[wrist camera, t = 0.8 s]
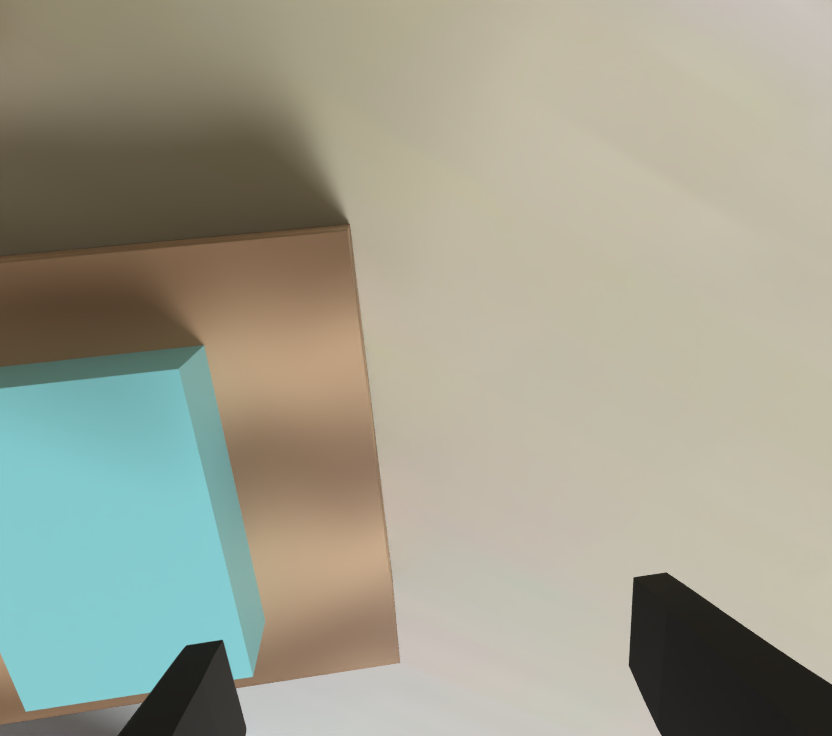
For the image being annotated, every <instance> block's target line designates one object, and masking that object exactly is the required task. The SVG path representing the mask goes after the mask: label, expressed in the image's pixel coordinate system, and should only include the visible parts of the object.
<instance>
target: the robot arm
mask: <svg viewBox="0 0 832 736" xmlns="http://www.w3.org/2000/svg"><path fill="white" fill-rule="evenodd" d="M629 667H630V669H631V671H632V674H633V676H634V678H635V681H636V683H637V685H638V687H639V690H640V692H641V694H642V696H643V699H644V701H645V703H646V705H647V707H648V709H649V711H650V713H651V716H652V718H653V720H654V722H655V724H656V726H657V728H658V730H659V732H660V734H661V735H662V736H832V684H830V683H828V682H827V681H825V680H824V679H822V678H821V677H819V676H818V675H816V674H815V673H813V672H811V671H810V670H808V669H807V668H805V667H804V666H802V665H801V664H799V663H798V662H796V661H795V660H793V659H792V658H790V657H789V656H787V655H786V654H784V653H783V652H781V651H780V650H778V649H777V648H775V647H774V646H772V645H771V644H769V643H768V642H766V641H765V640H763V639H762V638H761V637H759V636H758V635H756V634H755V633H753V632H752V631H750V630H749V629H747V628H746V627H745V626H743V625H742V624H740V623H739V622H737V621H736V620H734V619H733V618H732V617H730V616H729V615H727V614H726V613H724V612H723V611H722V610H720V609H719V608H717V607H716V606H714V605H713V604H712V603H710V602H709V601H707V600H706V599H704V598H703V597H702V596H700V595H699V594H697V593H696V592H694V591H693V590H692V589H690V588H689V587H687V586H686V585H684V584H683V583H681V582H680V581H678V580H677V579H675V578H674V577H672V576H671V575H669V574H668V573H660V574H653V575H647V576H640V577H634V580H633V598H632V617H631V636H630V654H629ZM245 735H246V725H245V721H244V718H243V714H242V710H241V706H240V702H239V699H238V695H237V691H236V687H235V683H234V680H233V676H232V672H231V668H230V664H229V661H228V657H227V653H226V649H225V645H224V642H223V640H217V641H211V642H204V643H198V644H191V645H186V646H185V647H184V648H183V650H182V651H181V652H180V653H179V655H178V656H177V657H176V659H175V660H174V661H173V663H172V664H171V665H170V667H169V668H168V669H167V671H166V672H165V673H164V675H163V676H162V677H161V679H160V680H159V681H158V683H157V684H156V685H155V687H154V688H153V689H152V691H151V692H150V693H149V695H148V696H147V697H146V699H145V700H144V701H143V703H142V704H141V705H140V707H139V708H138V709H137V711H136V712H135V713H134V715H133V716H132V717H131V719H130V720H129V721H128V723H127V724H126V725H125V727H124V728H123V729H122V731H121V732H120V733H119V735H118V736H245Z"/></svg>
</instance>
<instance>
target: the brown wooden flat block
mask: <svg viewBox="0 0 832 736" xmlns="http://www.w3.org/2000/svg"><path fill="white" fill-rule="evenodd" d="M200 345H204V347H205V351H206V356H207V360H208V365H209V369H210V374H211V378H212V383H213V387H214V392H215V396H216V401H217V405H218V410H219V414H220V419H221V423H222V428H223V432H224V437H225V441H226V446H227V450H228V455H229V459H230V464H231V468H232V473H233V477H234V482H235V486H236V491H237V495H238V500H239V505H240V509H241V514H242V518H243V523H244V527H245V532H246V536H247V541H248V545H249V550H250V554H251V559H252V563H253V568H254V572H255V577H256V581H257V586H258V590H259V595H260V599H261V604H262V608H263V613H264V617H265V625H264V630H263V634H262V639H261V643H260V648H259V652H258V657H257V661H256V666H255V670H254V675H253V677H248V678H242V679H235V680H234V683H235V687H236V688H241V687H247V686H253V685H260V684H266V683H273V682H279V681H286V680H292V679H299V678H305V677H312V676H318V675H325V674H331V673H337V672H344V671H350V670H357V669H363V668H370V667H376V666H383V665H389V664H396V663H400V658H399V647H398V636H397V624H396V613H395V602H394V591H393V580H392V571H391V563H390V555H389V546H388V538H387V530H386V521H385V513H384V505H383V496H382V488H381V480H380V472H379V463H378V455H377V447H376V438H375V430H374V422H373V413H372V405H371V397H370V388H369V380H368V372H367V363H366V355H365V347H364V338H363V330H362V322H361V314H360V305H359V297H358V289H357V280H356V272H355V264H354V255H353V247H352V239H351V230H350V224H345V225H334V226H323V227H312V228H301V229H291V230H280V231H269V232H258V233H247V234H236V235H225V236H215V237H204V238H193V239H182V240H171V241H160V242H149V243H138V244H128V245H117V246H106V247H95V248H84V249H73V250H62V251H52V252H41V253H30V254H19V255H8V256H0V367H4V366H13V365H23V364H32V363H41V362H51V361H60V360H70V359H79V358H88V357H98V356H107V355H116V354H126V353H135V352H144V351H154V350H163V349H172V348H182V347H191V346H200ZM148 695H149V693H144V694H138V695H131V696H125V697H118V698H112V699H105V700H99V701H92V702H86V703H79V704H73V705H66V706H60V707H53V708H47V709H40V710H34V711H27V712H26V711H25V709H24V706H23V704H22V702H21V699H20V697H19V695H18V693H17V690H16V688H15V686H14V683H13V681H12V679H11V677H10V674H9V672H8V670H7V667H6V665H5V663H4V660H3V658H2V656H1V654H0V725H2V724H8V723H15V722H21V721H28V720H34V719H40V718H47V717H53V716H60V715H66V714H73V713H79V712H86V711H92V710H99V709H105V708H111V707H118V706H124V705H131V704H137V703H143V701H144V700H145V699H146V697H147V696H148Z"/></svg>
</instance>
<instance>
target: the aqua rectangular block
mask: <svg viewBox="0 0 832 736" xmlns="http://www.w3.org/2000/svg"><path fill="white" fill-rule="evenodd" d="M264 625H265V617H264V613H263V608H262V604H261V599H260V595H259V590H258V586H257V581H256V577H255V572H254V568H253V563H252V559H251V554H250V550H249V545H248V541H247V536H246V532H245V527H244V523H243V518H242V514H241V509H240V505H239V500H238V495H237V491H236V486H235V482H234V477H233V473H232V468H231V464H230V459H229V455H228V450H227V446H226V441H225V437H224V432H223V428H222V423H221V419H220V414H219V410H218V405H217V401H216V396H215V392H214V387H213V383H212V378H211V374H210V369H209V365H208V360H207V356H206V351H205V347H204V345H200V346H191V347H182V348H172V349H163V350H154V351H144V352H135V353H126V354H116V355H107V356H98V357H88V358H79V359H70V360H60V361H51V362H41V363H32V364H23V365H13V366H4V367H0V654H1V656H2V658H3V660H4V663H5V665H6V667H7V670H8V672H9V674H10V677H11V679H12V681H13V683H14V686H15V688H16V690H17V693H18V695H19V697H20V699H21V702H22V704H23V706H24V709H25V711H26V712H27V711H34V710H40V709H47V708H53V707H60V706H66V705H73V704H79V703H86V702H92V701H99V700H105V699H112V698H118V697H125V696H131V695H138V694H144V693H150V692H151V691H152V689H153V688H154V687H155V685H156V684H157V683H158V681H159V680H160V679H161V677H162V676H163V675H164V673H165V672H166V671H167V669H168V668H169V667H170V665H171V664H172V663H173V661H174V660H175V659H176V657H177V656H178V655H179V653H180V652H181V651H182V650H183V648H184V647H185V646H186V645H191V644H198V643H204V642H211V641H217V640H223V642H224V645H225V649H226V653H227V657H228V661H229V664H230V668H231V672H232V676H233V680H235V679H242V678H248V677H253V675H254V670H255V666H256V661H257V657H258V652H259V648H260V643H261V639H262V634H263V630H264Z"/></svg>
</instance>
